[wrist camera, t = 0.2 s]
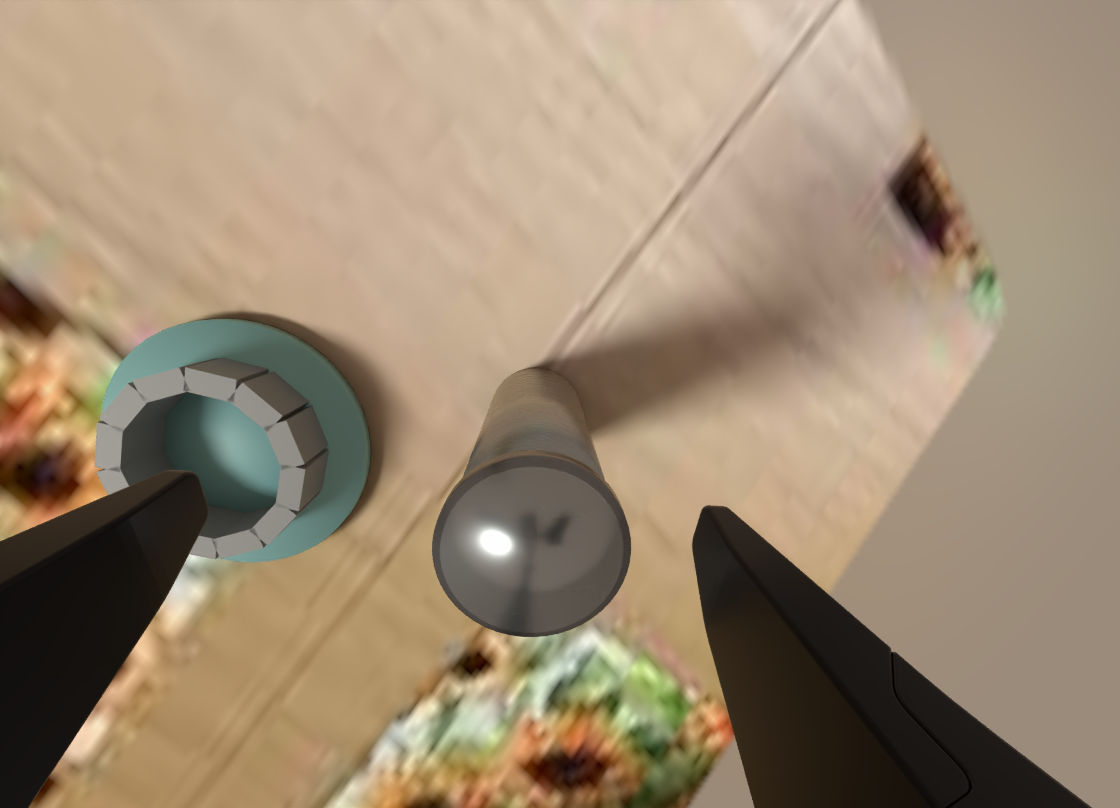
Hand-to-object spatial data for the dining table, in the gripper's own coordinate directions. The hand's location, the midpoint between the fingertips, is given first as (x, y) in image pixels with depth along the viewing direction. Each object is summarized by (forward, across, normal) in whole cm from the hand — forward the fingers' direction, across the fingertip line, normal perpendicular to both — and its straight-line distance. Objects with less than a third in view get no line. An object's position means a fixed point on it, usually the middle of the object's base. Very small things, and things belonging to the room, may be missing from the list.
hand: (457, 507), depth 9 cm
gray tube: (+14, -2, +6) cm, 16 cm away
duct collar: (+14, +12, +9) cm, 20 cm away
